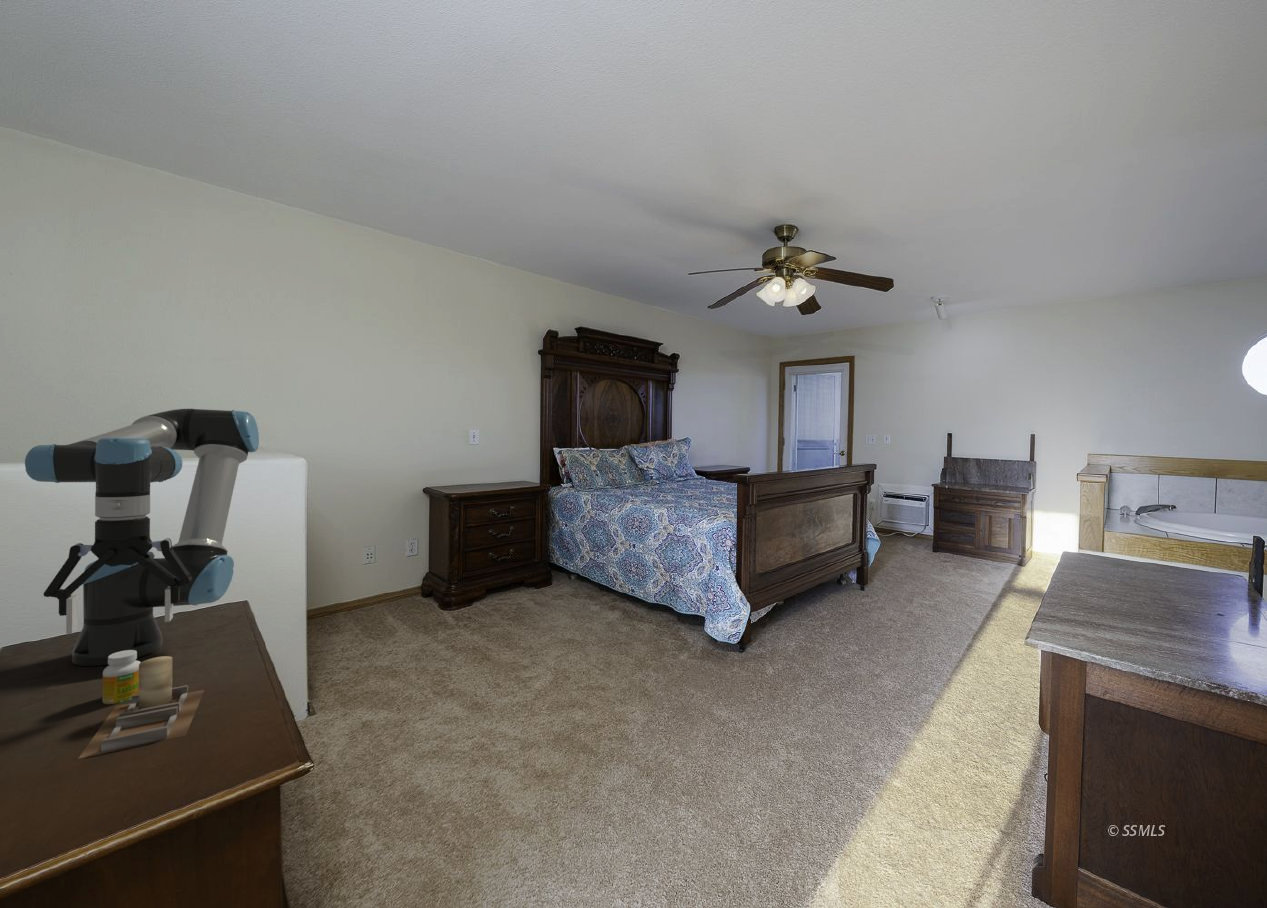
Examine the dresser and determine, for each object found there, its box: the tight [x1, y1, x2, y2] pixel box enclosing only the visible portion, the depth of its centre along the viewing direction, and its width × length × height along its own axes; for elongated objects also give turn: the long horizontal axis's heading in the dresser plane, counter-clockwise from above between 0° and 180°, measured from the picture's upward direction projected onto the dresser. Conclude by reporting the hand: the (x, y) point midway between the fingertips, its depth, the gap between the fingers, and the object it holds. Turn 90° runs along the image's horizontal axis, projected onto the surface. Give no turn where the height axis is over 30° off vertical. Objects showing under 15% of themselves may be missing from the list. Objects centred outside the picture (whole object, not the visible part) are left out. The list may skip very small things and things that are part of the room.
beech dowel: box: [139, 655, 173, 709], centre depth 95 cm, size 5×5×9 cm
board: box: [77, 684, 205, 760], centre depth 91 cm, size 18×13×3 cm
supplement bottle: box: [102, 650, 142, 705], centre depth 99 cm, size 5×5×10 cm
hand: (122, 625), depth 98 cm, fingers open, 13 cm apart
